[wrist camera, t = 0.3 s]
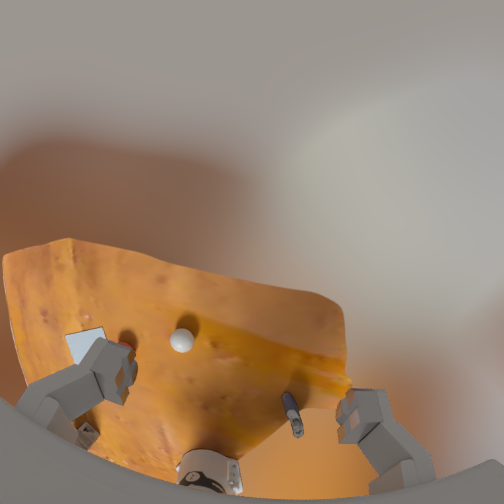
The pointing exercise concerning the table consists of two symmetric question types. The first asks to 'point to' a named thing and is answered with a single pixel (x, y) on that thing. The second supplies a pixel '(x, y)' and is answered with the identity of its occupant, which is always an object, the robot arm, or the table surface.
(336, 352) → the table surface
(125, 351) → the robot arm
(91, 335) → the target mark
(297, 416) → the flask
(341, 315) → the table surface
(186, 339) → the cue ball
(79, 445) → the coffee box
